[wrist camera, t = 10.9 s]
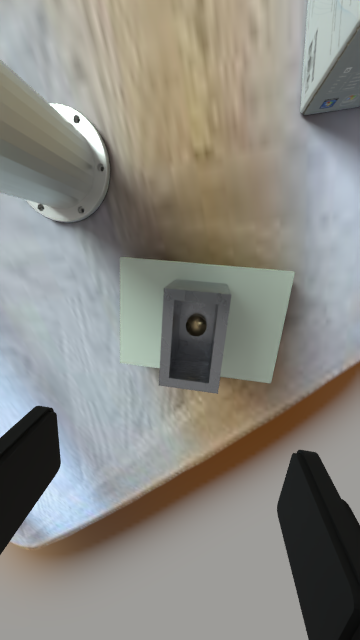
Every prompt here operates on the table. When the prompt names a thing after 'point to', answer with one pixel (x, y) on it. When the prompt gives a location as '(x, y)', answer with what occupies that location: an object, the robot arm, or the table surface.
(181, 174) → the table surface
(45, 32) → the table surface
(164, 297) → the housing
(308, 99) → the hard drive box
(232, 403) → the table surface
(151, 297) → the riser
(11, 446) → the robot arm
